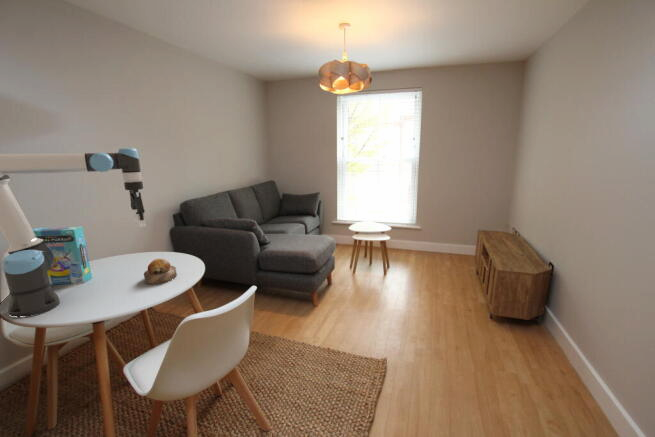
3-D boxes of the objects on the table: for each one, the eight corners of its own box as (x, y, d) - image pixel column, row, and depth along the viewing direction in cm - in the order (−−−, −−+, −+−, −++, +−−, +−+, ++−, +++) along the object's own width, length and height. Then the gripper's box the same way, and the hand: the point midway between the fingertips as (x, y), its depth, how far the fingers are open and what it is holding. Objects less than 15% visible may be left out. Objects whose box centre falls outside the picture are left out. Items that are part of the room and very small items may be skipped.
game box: (39, 285, 146) (25, 231, 140) (49, 280, 152) (37, 227, 146) (84, 283, 148) (73, 229, 142) (93, 278, 154) (82, 226, 148)
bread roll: (173, 275, 154) (176, 259, 156) (161, 274, 144) (163, 257, 146) (155, 275, 155) (157, 259, 157) (141, 274, 145) (144, 257, 147)
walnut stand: (148, 287, 142) (147, 279, 141) (142, 278, 153) (141, 270, 152) (180, 278, 151) (179, 271, 150) (172, 270, 162) (171, 263, 161)
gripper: (147, 182, 139) (154, 227, 144) (137, 179, 158) (143, 219, 163) (128, 183, 135) (135, 230, 139) (120, 180, 153) (127, 221, 158)
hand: (139, 224), depth 151 cm, fingers open, 13 cm apart
